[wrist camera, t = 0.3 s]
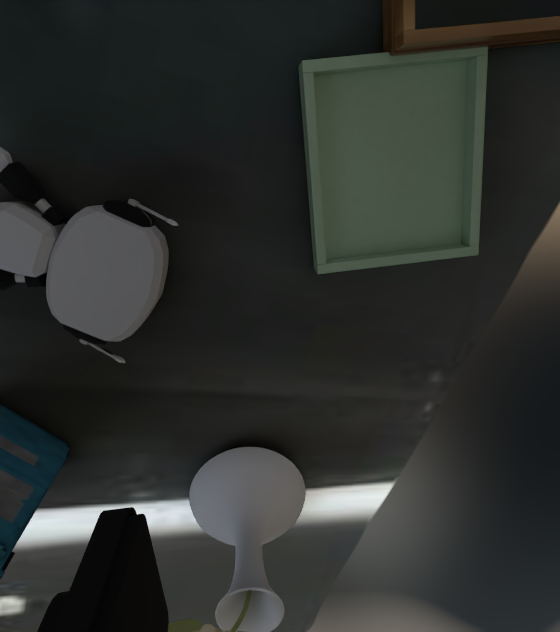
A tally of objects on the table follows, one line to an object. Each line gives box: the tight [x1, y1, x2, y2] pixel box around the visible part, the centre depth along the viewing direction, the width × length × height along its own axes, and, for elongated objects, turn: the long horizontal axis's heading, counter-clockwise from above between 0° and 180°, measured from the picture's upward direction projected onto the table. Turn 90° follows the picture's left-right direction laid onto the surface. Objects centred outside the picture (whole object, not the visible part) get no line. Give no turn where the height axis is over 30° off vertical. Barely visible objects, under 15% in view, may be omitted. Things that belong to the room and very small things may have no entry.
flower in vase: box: [168, 447, 305, 632], centre depth 33 cm, size 13×11×25 cm
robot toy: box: [0, 147, 179, 363], centre depth 35 cm, size 12×4×15 cm
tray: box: [298, 47, 488, 274], centre depth 35 cm, size 16×14×2 cm
